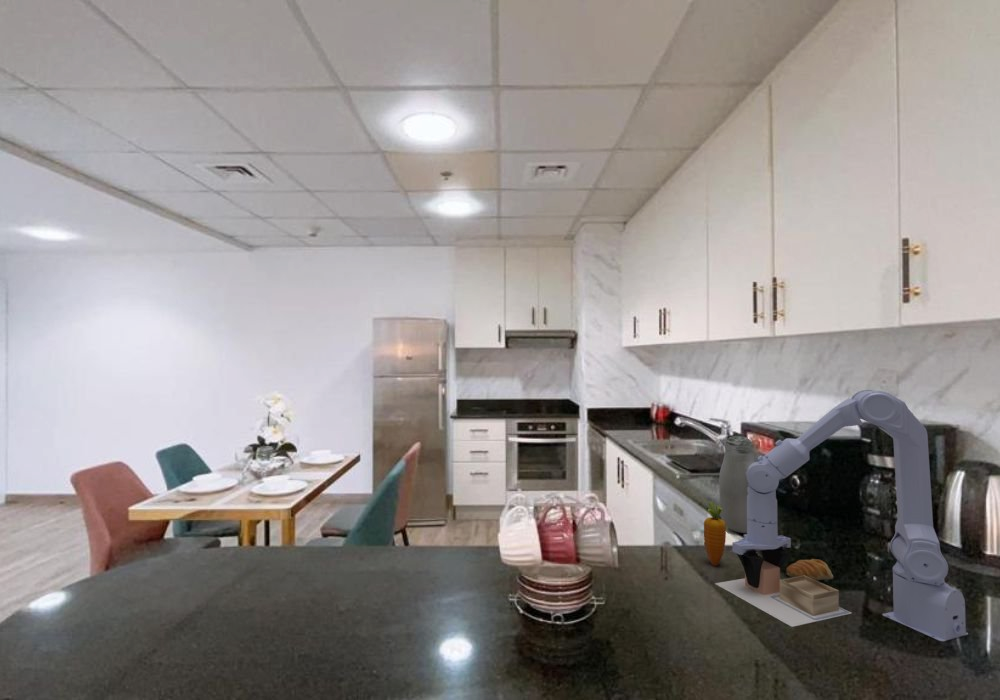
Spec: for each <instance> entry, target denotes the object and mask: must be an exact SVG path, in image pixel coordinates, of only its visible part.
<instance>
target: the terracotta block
mask: <svg viewBox="0 0 1000 700" xmlns="http://www.w3.org/2000/svg"><path fill="white" fill-rule="evenodd" d="M744 578H745V586H747V587H749V588H751V589H753V590H755V591H757V592H759V593H761V594H762V595H767V594H772V593H778V592H780V579H781V571H780V568H779V567H777V566H775V565H773V564H770V563H768V562H766V561H763V564H762V567H761V571H760V582H759V587H758V588H754V587H752V586H751V585H749V584H748V582H747V578H746V574H745V573H744Z"/></svg>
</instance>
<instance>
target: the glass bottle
mask: <svg viewBox="0 0 1000 700" xmlns="http://www.w3.org/2000/svg"><path fill="white" fill-rule="evenodd" d="M754 449H755V448H754V445H753V442H752V441H751V439H749V438H748V437H745V436H742V435H734V436H730V437H729V438H727V440H726V442H725V446H724V454H723V461H722V464H721V466H720V470H719V475H718V476H719V479H718V485H719V486H718V487H719V490H718V491H719V507H720V508H722V511H721V513H720V515H719V516H720V519H721V520H723V521H724V522H725V523H726V529H727V528H728V530H730V531H733V532H735V533H742V534H747V495H748V492H747V488H748V484H749V483H748V481H747V476H746V472H747V469H748V467H749V466H750V465H751V464H752V463H754V462H756V461H755V454H754Z"/></svg>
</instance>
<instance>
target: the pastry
mask: <svg viewBox="0 0 1000 700" xmlns="http://www.w3.org/2000/svg"><path fill="white" fill-rule="evenodd" d="M786 575H787V576H789V577H790V578H792V577H798V576H807V577H809V578H811V579H814V580H816V581H822V580H824V581H825V580H833V579H834V574H832V570H831V569H830V568H829V565H828V564H827V563H826V562H825V561H823V560H821V559H815V558H811V559H799V560H797V561H795V562H794V563H791V564H790V565H788V566H787V567H786Z"/></svg>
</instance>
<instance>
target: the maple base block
mask: <svg viewBox="0 0 1000 700" xmlns="http://www.w3.org/2000/svg"><path fill="white" fill-rule="evenodd" d="M780 579H781V578H780ZM839 591H840V590H838V589H836V588H834V587H832V586H830V585H827V584H825V583H823V582H820V581H819V580H814V579H811V578H809V577H807V576H798V577H787V578H782V579H781V580H780V599H781V600H783V601H785V602H787V603H789V604H791V605H793V606H795V607H797V608H799V609H800V610H802V611H804V612H806V613H808V614H810V615H812V616H816V615H820V614H825V613H829V612H834V611H838V610H839V607H840V599H839V598H840V596H839V595H840V593H839Z"/></svg>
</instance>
